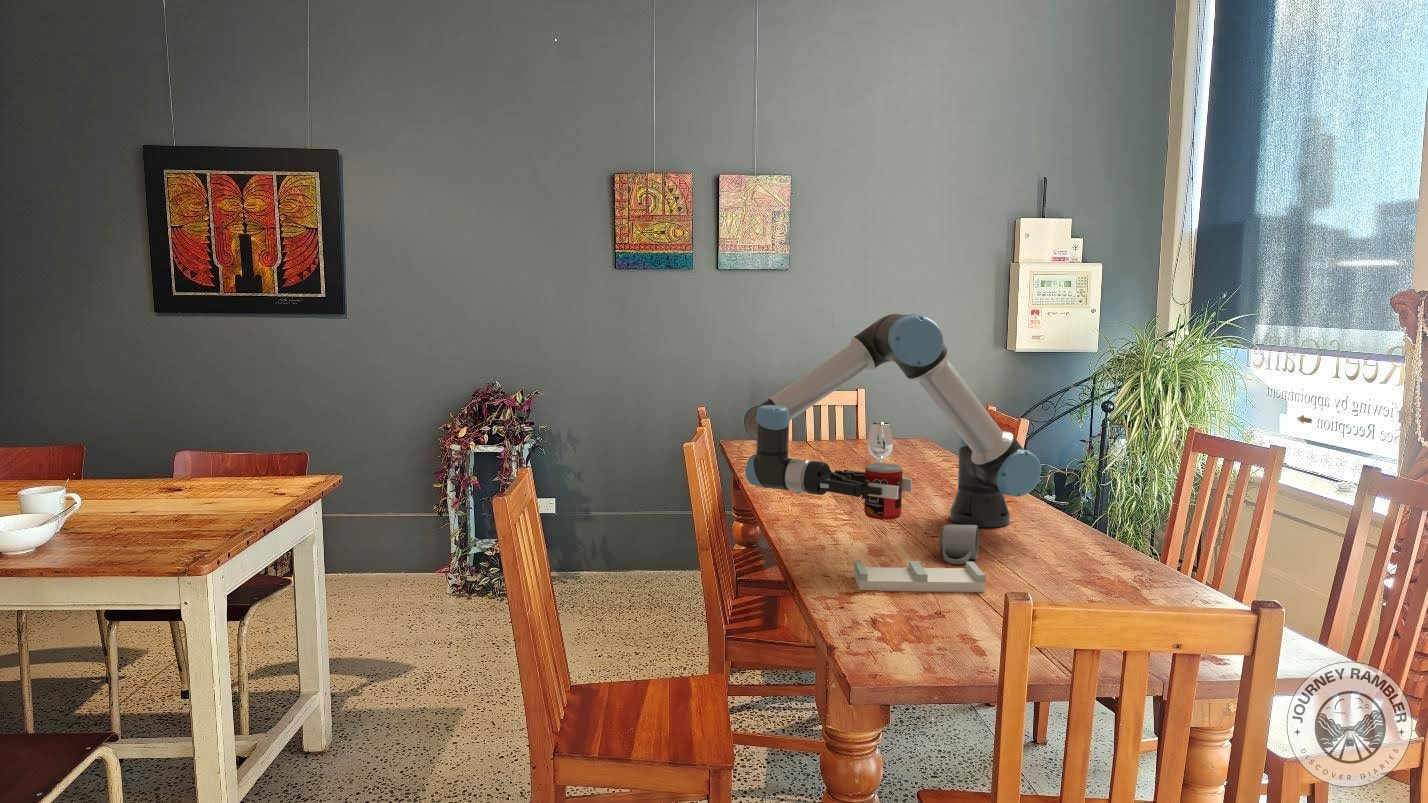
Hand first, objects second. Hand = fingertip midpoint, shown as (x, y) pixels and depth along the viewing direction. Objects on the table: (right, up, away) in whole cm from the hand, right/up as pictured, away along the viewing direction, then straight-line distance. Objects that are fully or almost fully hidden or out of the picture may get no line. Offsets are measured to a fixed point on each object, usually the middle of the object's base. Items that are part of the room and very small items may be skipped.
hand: (904, 489), depth 185 cm
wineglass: (+11, -8, +85) cm, 86 cm away
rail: (+1, -19, -7) cm, 20 cm away
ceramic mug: (+15, -17, +10) cm, 25 cm away
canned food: (-4, -6, +3) cm, 8 cm away
